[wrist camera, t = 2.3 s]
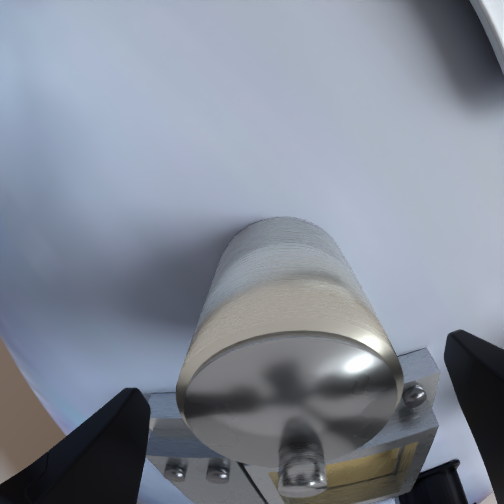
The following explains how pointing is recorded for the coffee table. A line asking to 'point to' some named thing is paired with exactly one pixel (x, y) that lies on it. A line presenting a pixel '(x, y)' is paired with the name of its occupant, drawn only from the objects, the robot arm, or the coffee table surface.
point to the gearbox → (337, 471)
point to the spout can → (287, 357)
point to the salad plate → (492, 24)
